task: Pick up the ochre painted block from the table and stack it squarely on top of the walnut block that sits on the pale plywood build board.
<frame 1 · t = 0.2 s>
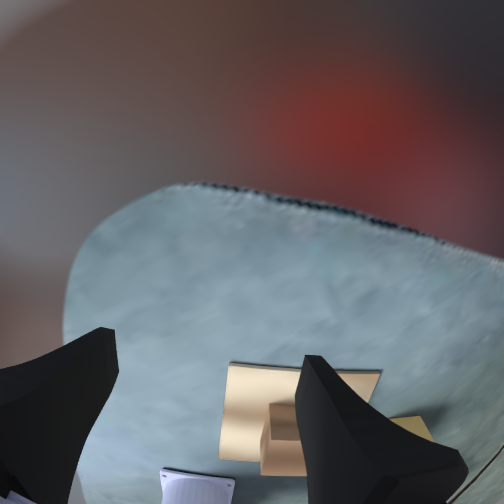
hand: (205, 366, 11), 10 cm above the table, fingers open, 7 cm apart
walnut block: (293, 425, 24), resting on build board
ochre block: (394, 431, 26), on the table
build board: (292, 421, 25), on the table
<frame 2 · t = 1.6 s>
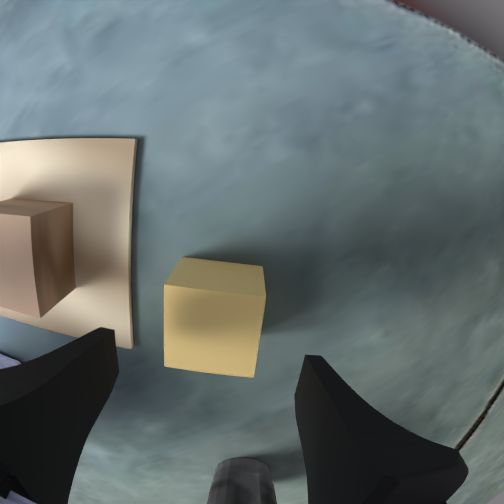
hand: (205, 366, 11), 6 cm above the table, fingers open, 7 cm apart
walnut block: (40, 242, 16), resting on build board
ochre block: (219, 297, 17), on the table
build board: (44, 240, 16), on the table
beverage cup: (242, 470, 22), on the table
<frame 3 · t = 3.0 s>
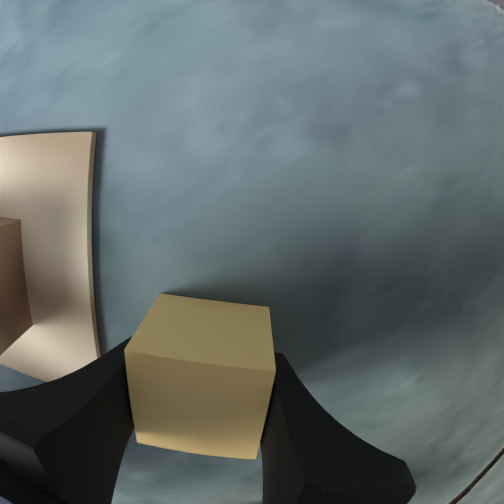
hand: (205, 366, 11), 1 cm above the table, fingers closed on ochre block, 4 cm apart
ochre block: (210, 346, 13), on the table, touching gripper
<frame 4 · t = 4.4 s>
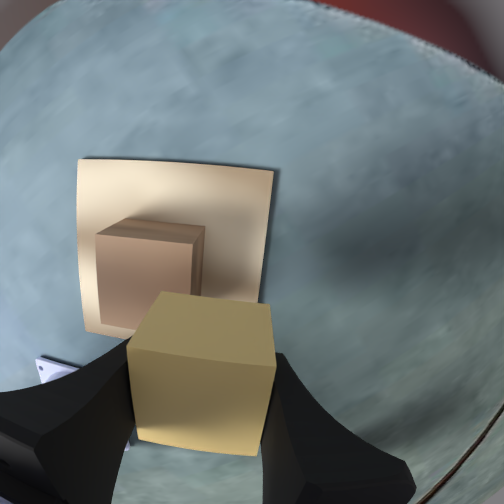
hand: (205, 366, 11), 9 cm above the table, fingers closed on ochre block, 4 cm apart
walnut block: (162, 262, 19), resting on build board
ochre block: (211, 343, 13), point 7 cm above the table, touching gripper
build board: (163, 260, 19), on the table
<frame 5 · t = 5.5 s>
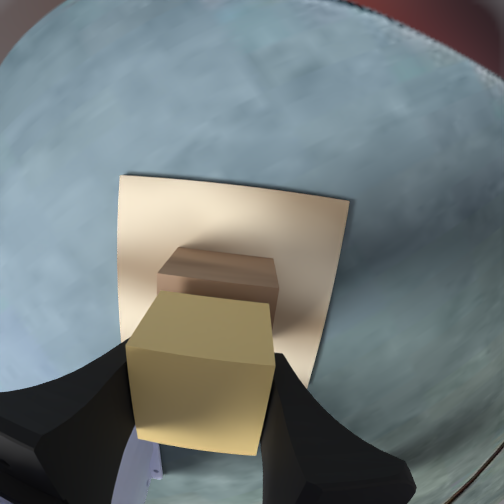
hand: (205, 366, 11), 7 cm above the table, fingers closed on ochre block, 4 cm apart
walnut block: (220, 296, 17), resting on build board
ochre block: (210, 343, 13), point 5 cm above the table, touching gripper
build board: (221, 293, 18), on the table
when the fingers open (7 cm above the table, at t = 6.0 s): ochre block stays where it is, resting on walnut block.
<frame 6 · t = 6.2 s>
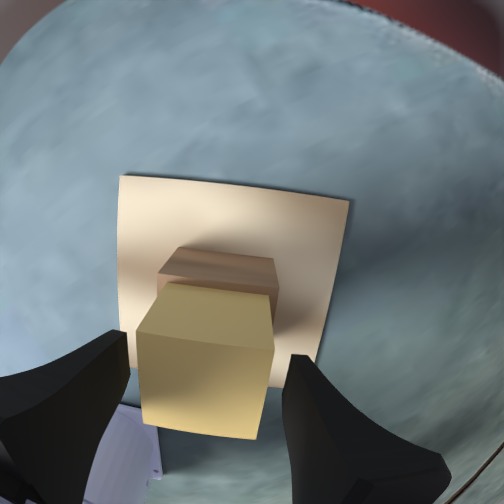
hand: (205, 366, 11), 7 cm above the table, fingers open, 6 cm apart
walnut block: (221, 296, 17), resting on build board, touching ochre block
ochre block: (213, 333, 13), point 4 cm above the table, touching walnut block
build board: (221, 293, 18), on the table
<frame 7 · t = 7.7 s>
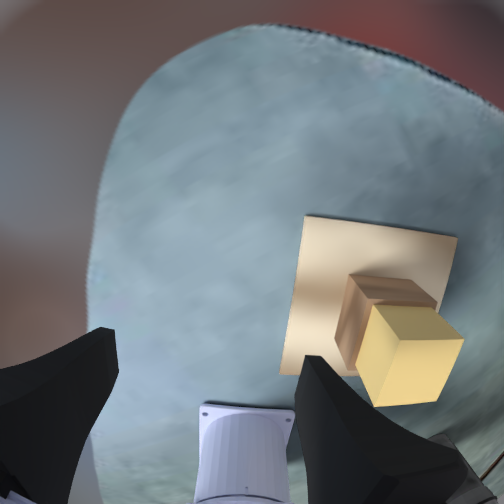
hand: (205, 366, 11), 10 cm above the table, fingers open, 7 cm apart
walnut block: (373, 309, 22), resting on build board, touching ochre block
ochre block: (394, 336, 18), point 4 cm above the table, touching walnut block
build board: (371, 307, 22), on the table
beverage cup: (430, 445, 28), on the table
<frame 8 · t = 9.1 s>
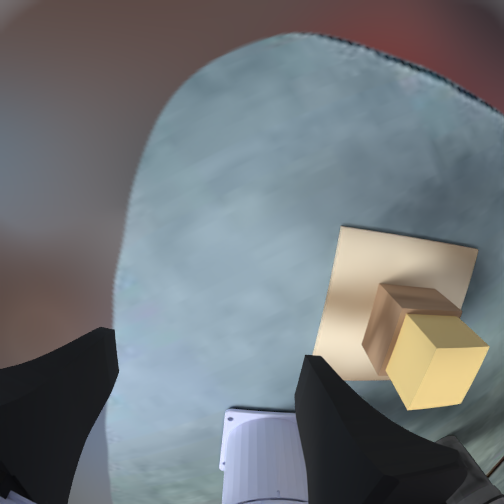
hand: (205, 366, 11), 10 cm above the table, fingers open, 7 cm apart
walnut block: (399, 317, 22), resting on build board, touching ochre block
ochre block: (422, 343, 18), point 4 cm above the table, touching walnut block
build board: (397, 314, 22), on the table
beverage cup: (440, 446, 28), on the table
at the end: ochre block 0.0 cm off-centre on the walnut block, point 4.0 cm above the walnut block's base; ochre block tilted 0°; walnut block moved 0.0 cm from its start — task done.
